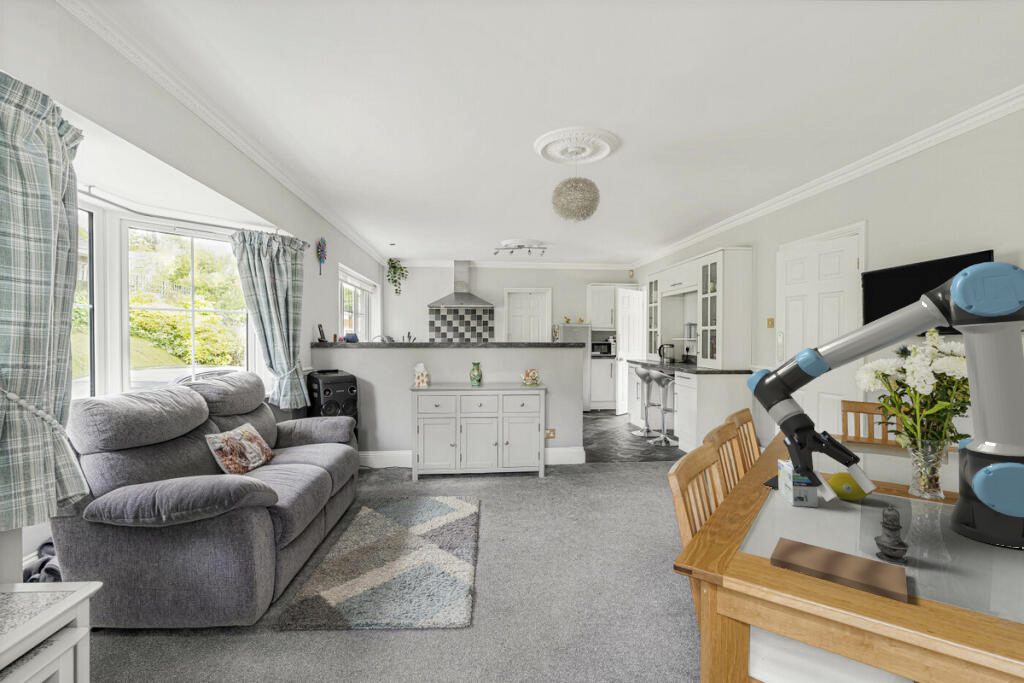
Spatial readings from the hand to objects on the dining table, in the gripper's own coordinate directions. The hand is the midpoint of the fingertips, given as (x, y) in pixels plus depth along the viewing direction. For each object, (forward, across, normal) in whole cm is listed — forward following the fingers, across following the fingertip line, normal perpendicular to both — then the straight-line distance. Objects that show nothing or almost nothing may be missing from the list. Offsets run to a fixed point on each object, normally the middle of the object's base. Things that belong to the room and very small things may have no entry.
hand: (852, 494), depth 102 cm
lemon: (-5, -27, -21) cm, 35 cm away
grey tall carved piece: (+14, -1, -3) cm, 14 cm away
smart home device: (-17, -24, -34) cm, 45 cm away
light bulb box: (-8, -13, -25) cm, 30 cm away
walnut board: (+13, +15, -4) cm, 20 cm away
